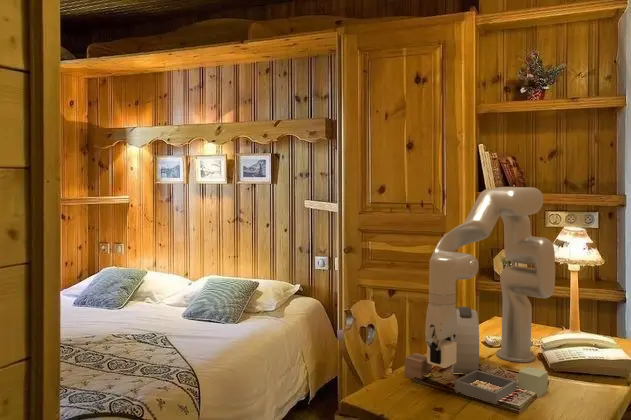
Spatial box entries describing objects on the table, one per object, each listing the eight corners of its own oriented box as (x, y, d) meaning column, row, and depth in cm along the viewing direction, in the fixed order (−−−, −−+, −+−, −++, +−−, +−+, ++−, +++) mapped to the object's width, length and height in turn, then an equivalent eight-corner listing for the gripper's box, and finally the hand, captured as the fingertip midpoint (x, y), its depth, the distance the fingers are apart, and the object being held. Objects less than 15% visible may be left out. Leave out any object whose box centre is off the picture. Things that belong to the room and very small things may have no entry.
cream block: (438, 357, 158) (438, 338, 157) (456, 362, 153) (456, 342, 153) (427, 362, 154) (427, 342, 153) (445, 368, 149) (445, 347, 149)
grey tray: (476, 381, 161) (476, 369, 161) (516, 393, 152) (516, 381, 152) (454, 392, 152) (454, 380, 152) (495, 405, 143) (496, 393, 143)
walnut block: (415, 371, 169) (415, 352, 169) (431, 376, 165) (432, 357, 165) (404, 376, 165) (404, 357, 165) (420, 381, 161) (421, 362, 160)
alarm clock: (478, 380, 161) (480, 316, 160) (453, 378, 163) (454, 315, 162) (472, 358, 182) (473, 301, 181) (450, 356, 184) (451, 299, 183)
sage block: (526, 386, 158) (527, 366, 157) (547, 392, 153) (547, 371, 153) (518, 391, 154) (518, 371, 153) (538, 397, 149) (539, 376, 149)
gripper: (446, 291, 161) (446, 349, 162) (414, 301, 149) (413, 364, 150) (469, 295, 156) (468, 355, 157) (437, 306, 143) (436, 371, 145)
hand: (441, 359), depth 153 cm, fingers closed on cream block, 6 cm apart
